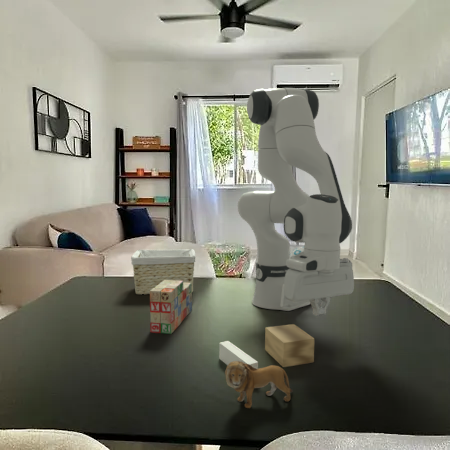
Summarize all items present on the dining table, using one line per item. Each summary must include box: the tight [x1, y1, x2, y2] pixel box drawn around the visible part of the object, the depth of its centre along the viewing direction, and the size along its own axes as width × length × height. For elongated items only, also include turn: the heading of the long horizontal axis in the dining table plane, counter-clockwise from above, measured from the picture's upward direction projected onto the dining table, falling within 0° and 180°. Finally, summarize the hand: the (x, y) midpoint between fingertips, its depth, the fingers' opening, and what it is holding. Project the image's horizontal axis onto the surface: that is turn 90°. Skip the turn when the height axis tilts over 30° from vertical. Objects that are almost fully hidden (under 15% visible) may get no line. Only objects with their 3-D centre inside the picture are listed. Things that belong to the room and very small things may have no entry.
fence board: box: [218, 340, 259, 369], centre depth 91 cm, size 2×13×4 cm, turn 29°
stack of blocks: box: [149, 280, 193, 335], centre depth 122 cm, size 21×6×12 cm, turn 169°
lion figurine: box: [224, 361, 294, 409], centre depth 77 cm, size 15×5×9 cm, turn 114°
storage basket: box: [130, 248, 196, 295], centre depth 156 cm, size 24×16×15 cm
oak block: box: [264, 323, 315, 368], centre depth 98 cm, size 8×10×6 cm
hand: (319, 314), depth 101 cm, fingers closed
